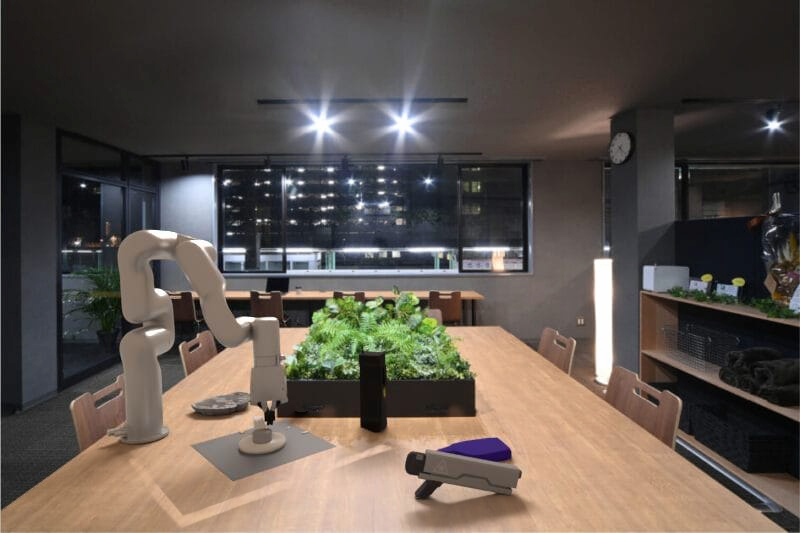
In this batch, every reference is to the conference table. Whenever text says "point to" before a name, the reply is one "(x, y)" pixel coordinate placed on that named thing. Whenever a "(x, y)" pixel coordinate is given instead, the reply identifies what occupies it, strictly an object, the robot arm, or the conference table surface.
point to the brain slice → (222, 404)
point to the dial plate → (242, 465)
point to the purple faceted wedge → (481, 449)
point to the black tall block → (373, 391)
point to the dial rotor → (261, 439)
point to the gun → (460, 472)
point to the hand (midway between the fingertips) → (270, 423)
